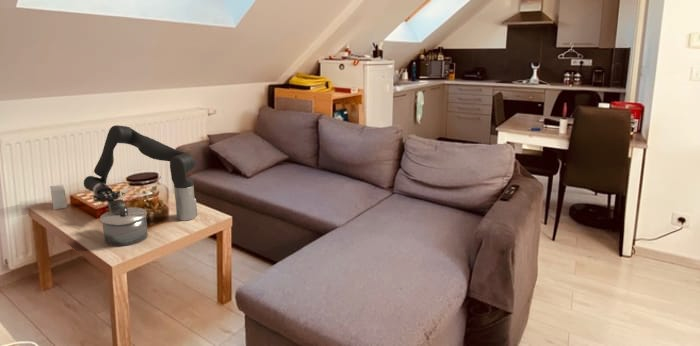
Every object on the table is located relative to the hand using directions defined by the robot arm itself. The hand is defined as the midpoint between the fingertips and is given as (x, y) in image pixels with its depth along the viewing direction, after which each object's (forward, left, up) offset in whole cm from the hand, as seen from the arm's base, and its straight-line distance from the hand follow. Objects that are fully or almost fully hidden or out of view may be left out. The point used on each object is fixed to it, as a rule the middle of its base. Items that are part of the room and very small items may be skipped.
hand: (111, 200), depth 225 cm
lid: (+6, +17, -2) cm, 18 cm away
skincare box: (0, -48, -13) cm, 50 cm away
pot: (+7, +19, -12) cm, 24 cm away
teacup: (-25, -18, -13) cm, 33 cm away
